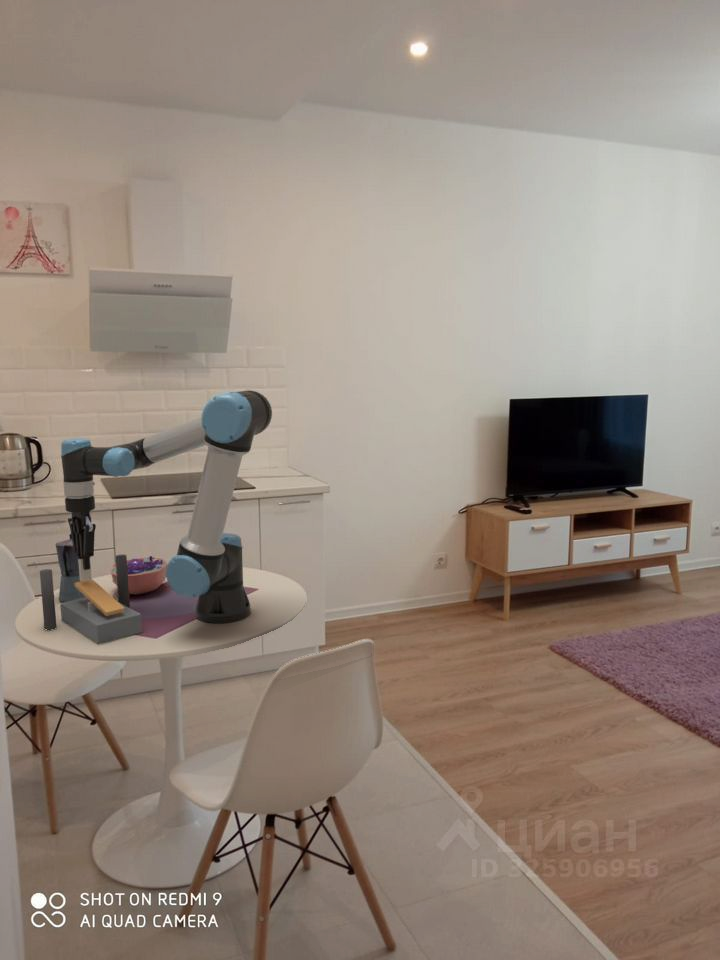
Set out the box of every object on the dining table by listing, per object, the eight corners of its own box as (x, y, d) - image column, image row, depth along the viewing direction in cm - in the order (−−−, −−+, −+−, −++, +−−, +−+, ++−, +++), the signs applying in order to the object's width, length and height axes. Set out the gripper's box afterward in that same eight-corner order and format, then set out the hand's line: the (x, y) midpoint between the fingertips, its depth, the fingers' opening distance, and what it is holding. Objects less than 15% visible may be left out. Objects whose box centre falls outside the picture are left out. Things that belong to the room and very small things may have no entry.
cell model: (179, 582, 241) (177, 548, 239) (153, 602, 221) (151, 565, 219) (129, 580, 243) (126, 546, 241) (99, 600, 224) (96, 564, 222)
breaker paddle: (124, 611, 196) (124, 607, 196) (106, 616, 193) (106, 612, 192) (92, 582, 210) (92, 579, 209) (74, 586, 206) (74, 582, 206)
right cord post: (131, 610, 215) (128, 555, 212) (121, 612, 213) (118, 558, 210) (127, 607, 217) (123, 554, 215) (117, 609, 215) (113, 555, 213)
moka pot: (96, 590, 233) (92, 528, 230) (87, 607, 218) (82, 540, 215) (64, 592, 231) (59, 529, 228) (52, 609, 216) (47, 542, 213)
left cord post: (58, 628, 201) (53, 570, 198) (47, 631, 199) (42, 573, 196) (54, 625, 203) (49, 568, 201) (42, 628, 201) (38, 570, 199)
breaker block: (142, 632, 198) (140, 605, 196) (98, 644, 190) (96, 616, 188) (103, 610, 215) (101, 585, 214) (61, 620, 207) (59, 595, 206)
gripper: (103, 497, 200) (109, 582, 204) (83, 491, 210) (89, 572, 214) (75, 501, 195) (82, 588, 199) (56, 494, 205) (62, 577, 209)
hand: (85, 580), depth 206 cm, fingers closed
